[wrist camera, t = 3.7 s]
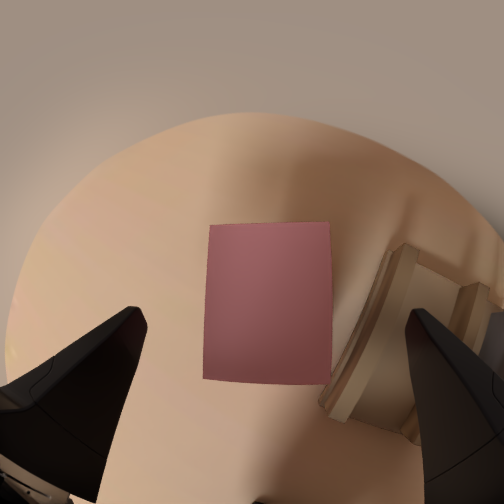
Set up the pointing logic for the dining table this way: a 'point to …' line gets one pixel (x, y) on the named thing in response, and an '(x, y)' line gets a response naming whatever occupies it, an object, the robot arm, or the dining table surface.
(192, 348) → the dining table surface
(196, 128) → the dining table surface
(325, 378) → the red rectangular block
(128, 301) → the dining table surface
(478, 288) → the rack
